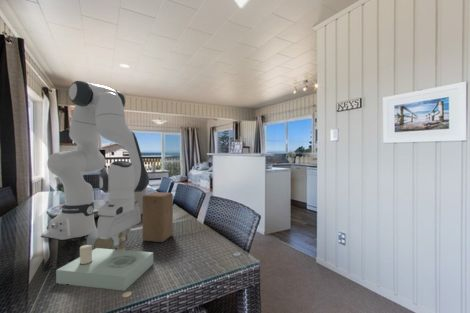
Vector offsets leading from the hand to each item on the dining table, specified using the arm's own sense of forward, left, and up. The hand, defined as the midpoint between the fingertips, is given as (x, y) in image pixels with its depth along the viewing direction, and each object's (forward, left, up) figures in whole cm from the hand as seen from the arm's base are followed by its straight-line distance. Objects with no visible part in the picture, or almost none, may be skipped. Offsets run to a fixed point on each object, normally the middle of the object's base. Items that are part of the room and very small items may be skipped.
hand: (121, 242), depth 88 cm
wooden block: (+5, +19, -5) cm, 20 cm away
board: (+4, -12, -5) cm, 13 cm away
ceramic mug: (-11, +4, -6) cm, 13 cm away
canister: (-29, +52, -5) cm, 60 cm away
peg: (0, 0, -4) cm, 4 cm away
